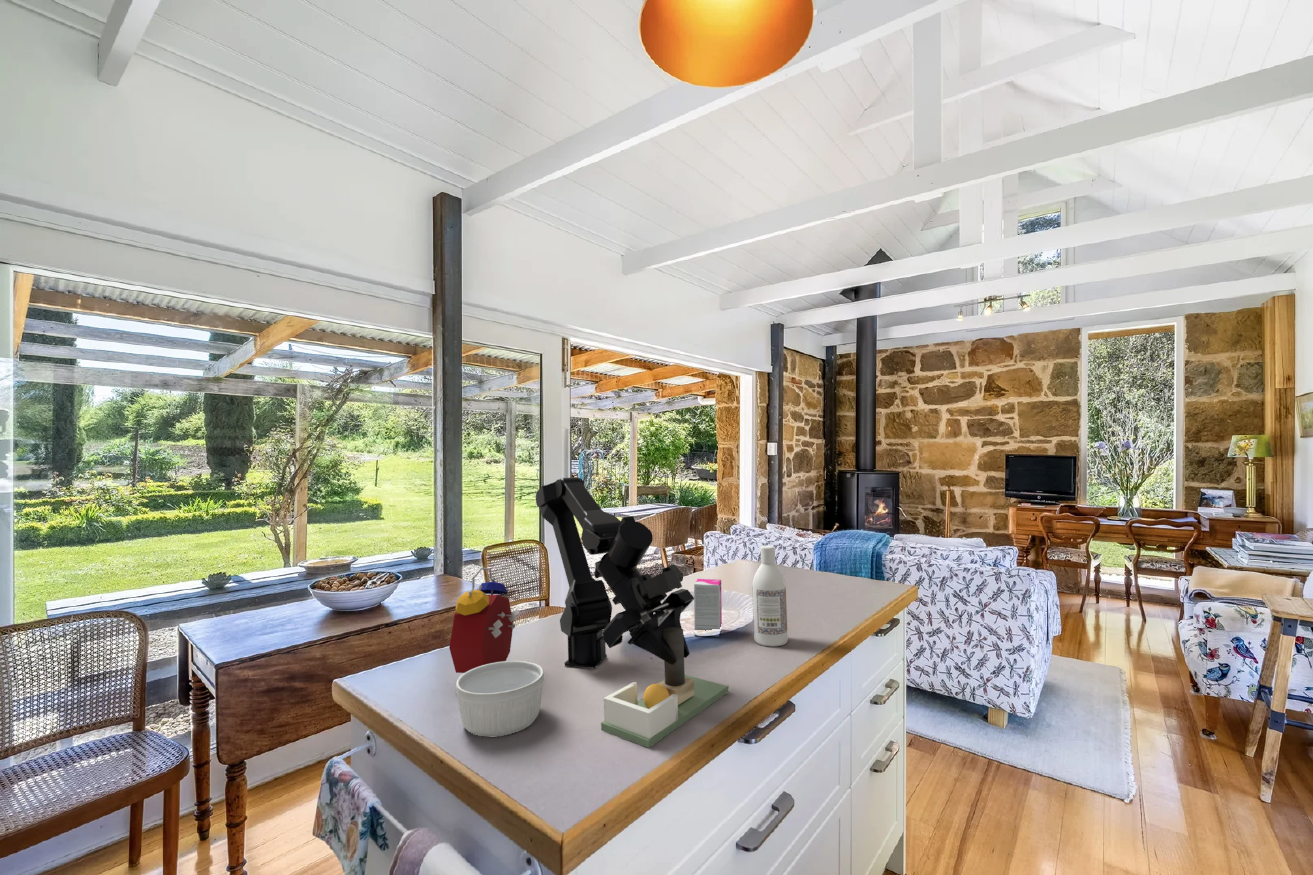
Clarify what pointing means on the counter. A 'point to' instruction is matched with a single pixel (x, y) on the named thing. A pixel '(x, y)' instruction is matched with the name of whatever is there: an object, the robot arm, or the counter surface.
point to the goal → (639, 712)
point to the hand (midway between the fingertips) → (681, 659)
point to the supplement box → (707, 604)
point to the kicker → (677, 667)
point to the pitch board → (689, 708)
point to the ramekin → (500, 697)
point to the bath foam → (769, 601)
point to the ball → (655, 695)
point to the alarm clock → (482, 626)
